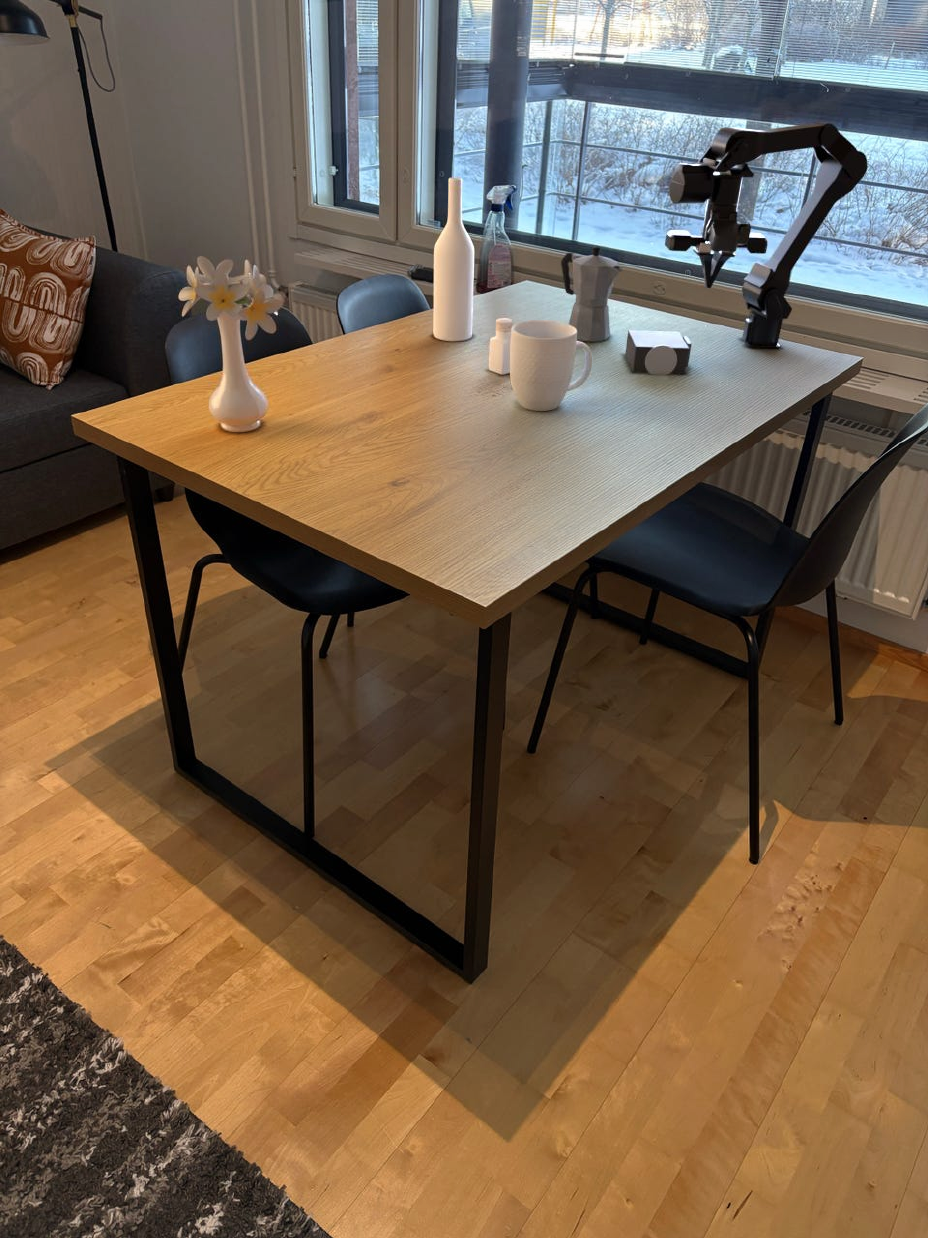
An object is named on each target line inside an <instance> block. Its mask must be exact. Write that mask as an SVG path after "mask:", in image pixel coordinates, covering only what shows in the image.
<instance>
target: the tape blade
mask: <svg viewBox="0 0 928 1238" xmlns="http://www.w3.org/2000/svg"><path fill="white" fill-rule="evenodd" d="M682 338H683V339H684V341H685V343H686V344H687V346H688V347H689V353H688V359H687V365H686V368H688V367H689V363H690V356H691V351H692V342H691V340H690V339H689V337H688V336H687V335H683V336H682Z"/></svg>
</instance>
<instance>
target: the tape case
mask: <svg viewBox="0 0 928 1238" xmlns="http://www.w3.org/2000/svg"><path fill="white" fill-rule="evenodd" d="M688 353H689V347H688V346H687V344H686V343H685V341H684V339H683V336H682V335H681V333H680V332H679V331H673V330H672V331H671V330H670V331H669V330H641V329H640V330H637V329H631V330H630V329H628V330H627V337H626V346H625V353H624V355H625V358H626V360H627V363H628V365H629V368H630V369H631V372H632V374H650V375H663V376H664V375H665V376H667V375H686V370H687V367H686V365H687V359H688Z"/></svg>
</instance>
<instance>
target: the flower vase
mask: <svg viewBox="0 0 928 1238" xmlns="http://www.w3.org/2000/svg"><path fill="white" fill-rule="evenodd" d="M196 262H197V266H196V267H195V270H194V271H193V268H192V267H191V265H188V266H187V267H186V280H187V283H188V285H189V286H185V287H183V288H181V290H180V291H179V294H178V299H179V301H182V302H184V301H186V303H185V304H184V305H183V309H182V312H181V316H182V317H184V316H186V314H187V313H188V312H189V311H190V309H191V308H192V307H193V306H194V305H195V304H196V303H197V302H198V301H199V300H201V299H203V300H204V301H207V302H209V303H210V304H209V305H208V307H207V309H206V314H205V316H206V320H208V321H210V322H214V321H216V320H217V324H218V328H219V334H220V343H221V355H222V373H221V378H220V381H219V384H218V385H217V387H216V388H215V389H214V390H213V392H212V393H211V395H210V396H209V399H208V405H207V406H208V407H207V408H208V411H209V413H210V415H211V416H212V417H213V418H214V419H215V421H217V422H219V423H220V427H221V428H222V429H223V430H225V431H227V432H230V433H246V432H251V431H254V430H257V429H258V428H259V427H260V425H261V420H262V419H263V418H264V417H265V416H266V415H267V412H268V410H269V408H270V407H269V401H268V398H267V396H266V394H265V393H264V392H263V391H262V389H261V388H260V387H258V386H257V385H256V384H255V383H254V382H253V380H252V379H251V377H250V375H249V373H248V371H247V368H246V363H245V358H244V351H243V344H242V335H241V321H246V327H245V332H244V333H245V334H244V335H245V339H246V340H247V341H251V340H252V339H253V338H255V336H256V334H257V332H258V329H259V327H260V328H261V329H262V330H263V331H264V332H266V333H268V334H274V333H275V332H276V331H277V325H276V322H275V321H274V319H273V317H271V316H270V315H269V314H274V315H275V316H278V315H279V313H278V311H279V310H280V309H281V308H282V307H283V305H284V301H283V300H282V299H281V298H280V299H271V298H272V297H273V296H274V294H275V293H274V290H273V288H272V287H271V285H268V284H267V278H266V276H265V275H264V274H262V273H260V270H259V268H258V266H257V265H255V264H254V265H253V268H252V265H251V263H250V261H249V260H248V259H245V260H244V274H241V275H237V276H234V277H232V276H229V274H230V273H231V271H232V270H233V266H234V262H233V260H232V259H228V258H227V259H224V260H222V261H221V262H220V263H218V265H217V266H216V268H215V266H214V265H213V264H212V262H211V261H210V260H209V259H208V258H207V257H205V256H202V255H200V256H198V257H197V259H196ZM199 269H200V271H201V273H202V274H201V273H200V271H199ZM241 282H242V283H241ZM270 299H271V300H270ZM249 300H251V301H252V302H251V303H249V302H247V301H249ZM243 305H244V306H246V307H244V306H243Z"/></svg>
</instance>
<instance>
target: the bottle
mask: <svg viewBox="0 0 928 1238" xmlns="http://www.w3.org/2000/svg"><path fill="white" fill-rule="evenodd" d="M447 199H448V201H447V202H448V203H447V222H446V224H445V226H444V228H443V230H442V231H441V233H440V235H439V237H438V238H437V240H436V242H435V244H434V248H433V318H432V319H433V330H432V331H433V337H434V338H435V339H437V340H441V341H445V342H446V341H447V342H462V341H467V340H469V339H471V338H472V335H473V315H474V314H473V310H474V309H473V308H474V280H475V279H474V278H475V247H474V244H473V241H472V240H471V237H470V236H469V234H468V232H467V230H466V227H465V226H464V223H463V178H461V177H449V178H448V198H447Z"/></svg>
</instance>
